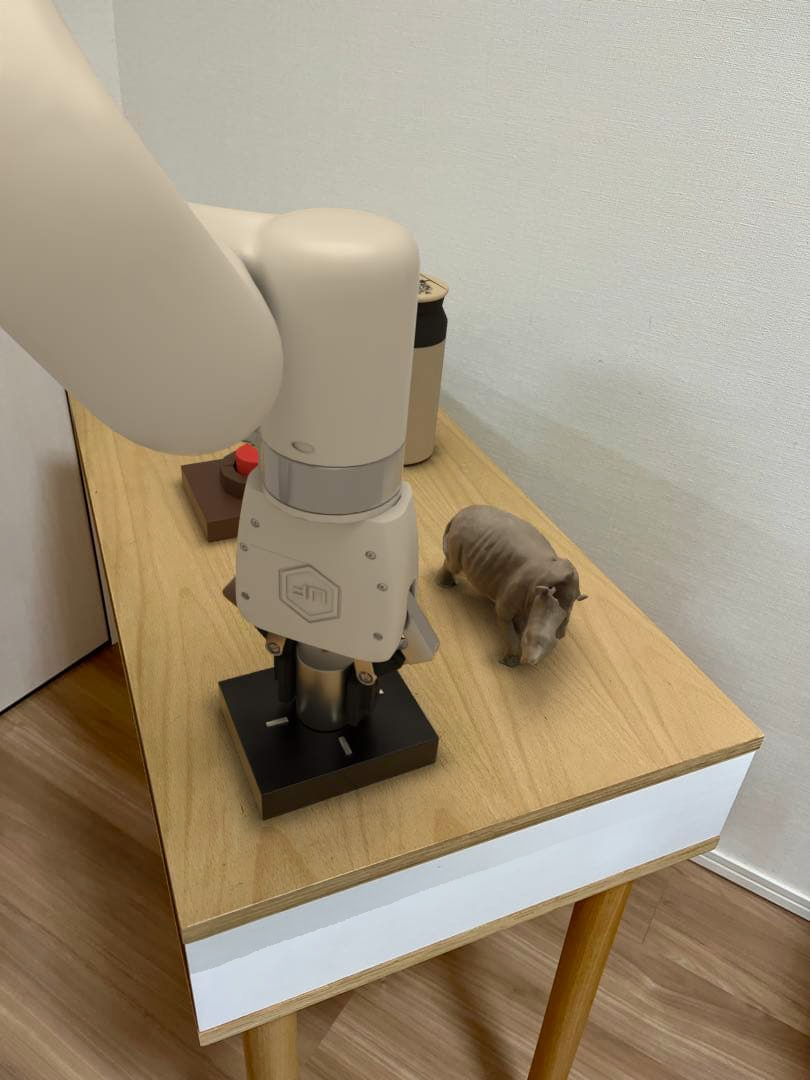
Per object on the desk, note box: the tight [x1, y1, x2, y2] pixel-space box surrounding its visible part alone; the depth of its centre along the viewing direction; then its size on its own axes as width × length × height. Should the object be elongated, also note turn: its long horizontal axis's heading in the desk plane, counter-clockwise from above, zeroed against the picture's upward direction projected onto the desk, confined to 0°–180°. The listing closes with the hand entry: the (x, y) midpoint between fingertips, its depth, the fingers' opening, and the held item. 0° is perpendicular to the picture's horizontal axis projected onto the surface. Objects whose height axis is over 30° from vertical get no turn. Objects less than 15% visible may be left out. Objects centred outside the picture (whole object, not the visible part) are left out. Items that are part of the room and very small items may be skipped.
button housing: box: [180, 450, 248, 543], centre depth 77 cm, size 12×10×4 cm
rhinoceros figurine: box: [434, 504, 589, 667], centre depth 64 cm, size 8×14×15 cm
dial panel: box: [217, 666, 440, 821], centre depth 55 cm, size 12×10×3 cm
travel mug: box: [404, 272, 450, 465], centre depth 83 cm, size 8×8×18 cm
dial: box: [296, 641, 355, 731], centre depth 53 cm, size 4×4×6 cm
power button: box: [235, 443, 259, 476], centre depth 76 cm, size 4×4×2 cm
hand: (326, 697), depth 54 cm, fingers closed on dial, 4 cm apart
